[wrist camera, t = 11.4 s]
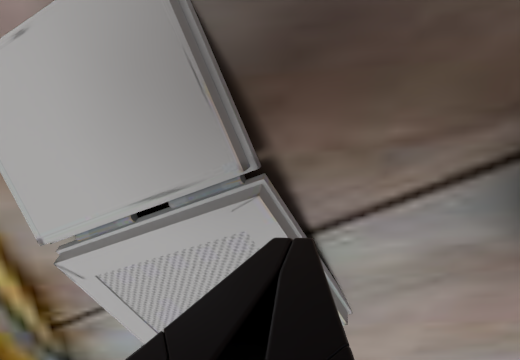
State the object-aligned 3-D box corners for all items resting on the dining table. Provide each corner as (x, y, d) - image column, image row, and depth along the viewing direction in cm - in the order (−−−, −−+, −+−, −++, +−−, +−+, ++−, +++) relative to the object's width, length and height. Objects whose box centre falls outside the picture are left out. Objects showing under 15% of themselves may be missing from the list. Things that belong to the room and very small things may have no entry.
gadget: (-36, 69, 26) (-92, 87, 23) (162, -67, 20) (121, -67, 17) (167, 342, 33) (145, 383, 30) (353, 305, 27) (350, 352, 24)
